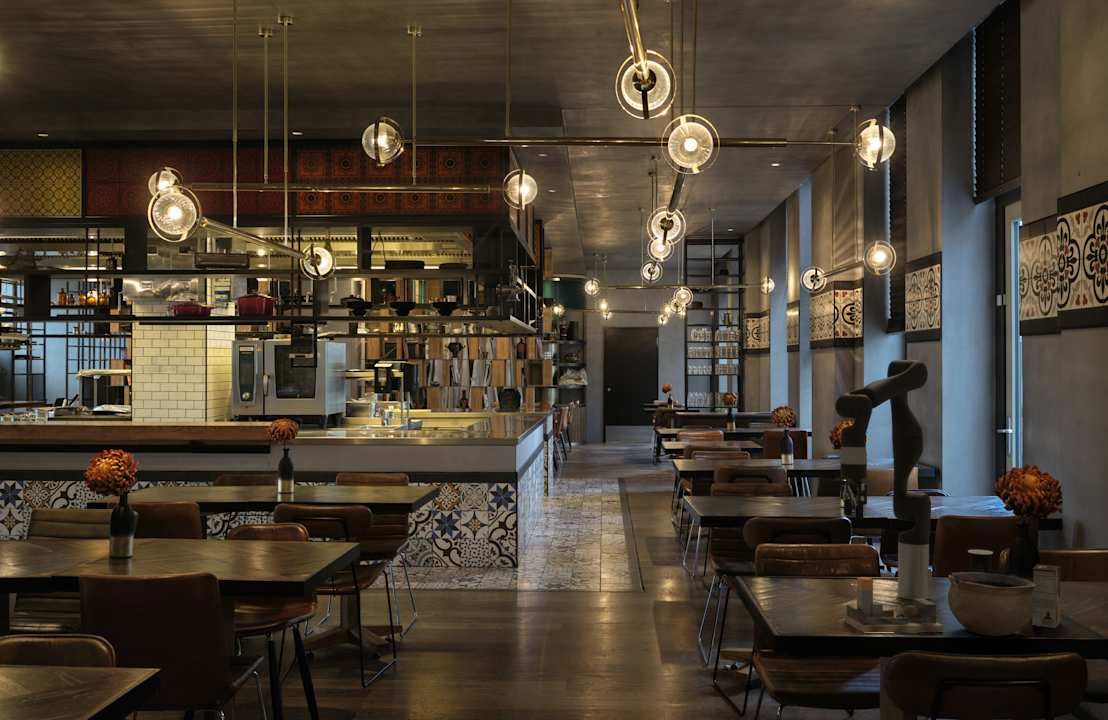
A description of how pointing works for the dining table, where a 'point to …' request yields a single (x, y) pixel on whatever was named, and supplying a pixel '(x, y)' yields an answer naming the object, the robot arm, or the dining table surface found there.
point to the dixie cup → (980, 560)
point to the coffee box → (1046, 595)
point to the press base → (897, 620)
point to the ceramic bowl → (990, 602)
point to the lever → (867, 599)
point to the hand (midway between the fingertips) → (853, 517)
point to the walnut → (910, 611)
